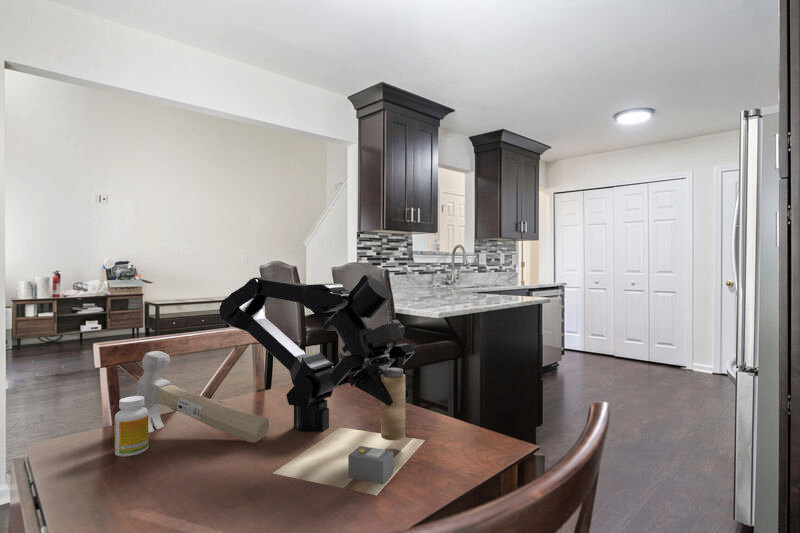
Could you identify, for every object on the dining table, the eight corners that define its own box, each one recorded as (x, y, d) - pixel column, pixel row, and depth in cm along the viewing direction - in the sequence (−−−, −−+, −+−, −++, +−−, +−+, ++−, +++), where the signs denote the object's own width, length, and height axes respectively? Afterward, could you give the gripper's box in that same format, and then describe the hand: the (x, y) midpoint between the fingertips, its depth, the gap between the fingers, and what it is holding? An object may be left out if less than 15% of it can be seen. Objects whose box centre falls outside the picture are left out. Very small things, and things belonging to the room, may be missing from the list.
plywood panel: (272, 478, 71) (272, 473, 71) (340, 431, 91) (340, 427, 91) (376, 500, 64) (376, 495, 64) (425, 444, 84) (425, 440, 84)
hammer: (277, 391, 87) (158, 349, 95) (263, 397, 82) (140, 353, 90) (261, 466, 88) (145, 418, 96) (247, 477, 83) (126, 425, 91)
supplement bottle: (155, 448, 83) (155, 396, 83) (126, 459, 78) (127, 404, 78) (136, 443, 85) (136, 393, 85) (107, 454, 80) (107, 400, 80)
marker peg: (377, 438, 79) (377, 371, 79) (387, 429, 83) (387, 366, 83) (399, 441, 77) (399, 373, 77) (408, 433, 81) (409, 368, 81)
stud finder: (348, 477, 69) (348, 453, 69) (360, 466, 73) (360, 444, 73) (383, 484, 67) (383, 459, 67) (393, 473, 71) (393, 449, 71)
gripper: (342, 310, 75) (391, 385, 68) (407, 303, 90) (453, 365, 83) (311, 350, 80) (354, 425, 73) (378, 338, 95) (419, 398, 88)
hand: (399, 401), depth 79 cm, fingers closed on marker peg, 4 cm apart
